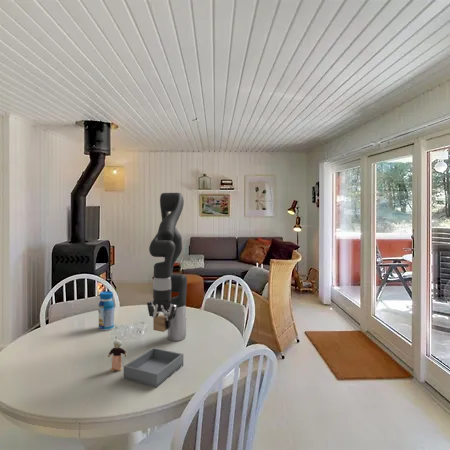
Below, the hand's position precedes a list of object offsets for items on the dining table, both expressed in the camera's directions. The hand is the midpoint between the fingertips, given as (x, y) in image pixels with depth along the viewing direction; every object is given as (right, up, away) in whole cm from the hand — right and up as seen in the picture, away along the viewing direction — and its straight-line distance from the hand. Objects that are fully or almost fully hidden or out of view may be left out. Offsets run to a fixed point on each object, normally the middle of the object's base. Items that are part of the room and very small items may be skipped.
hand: (161, 327), depth 142 cm
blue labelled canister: (-39, -14, +45) cm, 61 cm away
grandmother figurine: (-18, -17, -2) cm, 25 cm away
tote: (-2, -17, -4) cm, 18 cm away
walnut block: (0, -1, 0) cm, 1 cm away
